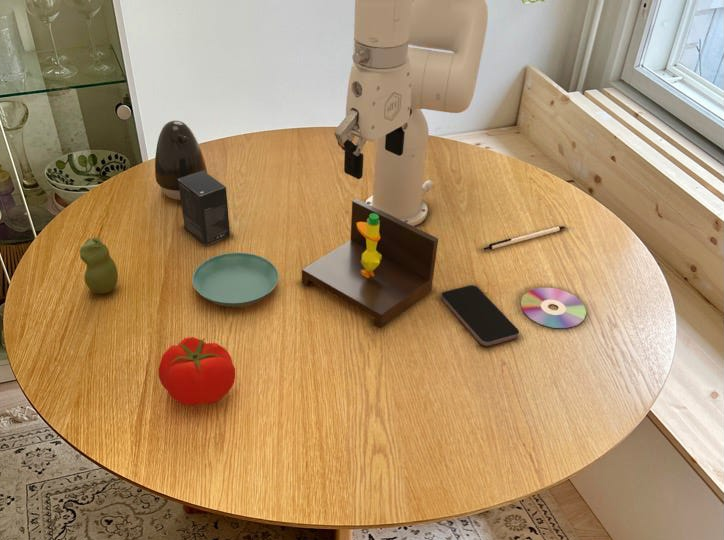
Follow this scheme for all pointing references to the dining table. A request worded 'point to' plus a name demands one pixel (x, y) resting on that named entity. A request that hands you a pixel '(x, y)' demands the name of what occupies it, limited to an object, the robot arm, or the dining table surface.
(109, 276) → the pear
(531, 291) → the cd
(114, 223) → the dining table surface
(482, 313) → the smartphone
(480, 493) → the dining table surface
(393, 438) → the dining table surface
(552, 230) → the pen
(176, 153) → the dark brown egg shape
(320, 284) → the shelf
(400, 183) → the robot arm
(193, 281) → the saucer
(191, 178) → the box
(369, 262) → the toy figure
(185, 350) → the tomato
